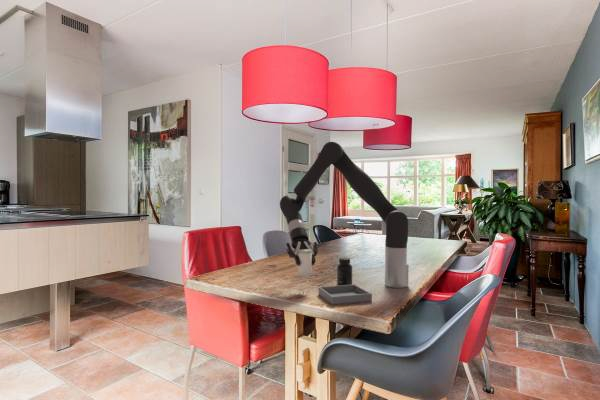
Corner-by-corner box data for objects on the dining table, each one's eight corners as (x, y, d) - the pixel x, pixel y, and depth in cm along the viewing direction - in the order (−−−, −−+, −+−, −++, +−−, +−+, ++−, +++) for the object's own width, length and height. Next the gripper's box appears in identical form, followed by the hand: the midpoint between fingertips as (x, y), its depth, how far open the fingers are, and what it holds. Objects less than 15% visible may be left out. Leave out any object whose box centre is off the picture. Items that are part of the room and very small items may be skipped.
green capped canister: (309, 272, 146) (309, 248, 146) (314, 275, 140) (313, 250, 140) (296, 273, 144) (296, 249, 144) (300, 276, 138) (300, 251, 138)
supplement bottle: (342, 282, 157) (342, 256, 157) (355, 285, 152) (355, 258, 152) (333, 285, 152) (334, 258, 151) (347, 288, 147) (347, 260, 147)
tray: (354, 291, 142) (354, 284, 142) (371, 301, 129) (371, 293, 129) (318, 294, 138) (318, 287, 138) (332, 305, 124) (332, 297, 124)
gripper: (283, 227, 147) (291, 260, 136) (315, 226, 151) (325, 257, 140) (280, 238, 152) (287, 270, 141) (311, 236, 156) (320, 268, 145)
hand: (306, 264), depth 140 cm, fingers closed on green capped canister, 5 cm apart
